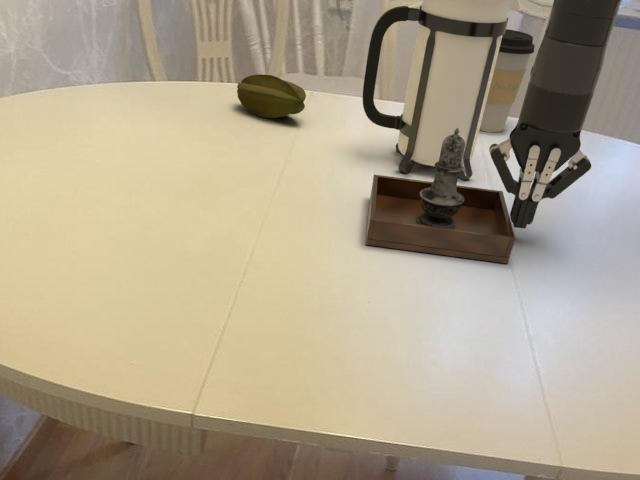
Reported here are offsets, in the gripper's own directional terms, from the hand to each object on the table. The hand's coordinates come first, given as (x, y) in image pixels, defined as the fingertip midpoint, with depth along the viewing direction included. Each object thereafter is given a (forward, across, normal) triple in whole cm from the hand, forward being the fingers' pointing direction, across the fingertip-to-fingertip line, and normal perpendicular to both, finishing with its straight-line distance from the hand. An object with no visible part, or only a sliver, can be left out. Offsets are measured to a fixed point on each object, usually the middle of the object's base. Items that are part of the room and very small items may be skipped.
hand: (519, 225), depth 100 cm
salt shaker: (+1, -11, 0) cm, 11 cm away
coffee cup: (+2, 0, +50) cm, 50 cm away
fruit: (+2, -39, +40) cm, 56 cm away
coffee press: (+2, -12, +25) cm, 28 cm away
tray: (+2, -11, 0) cm, 11 cm away
